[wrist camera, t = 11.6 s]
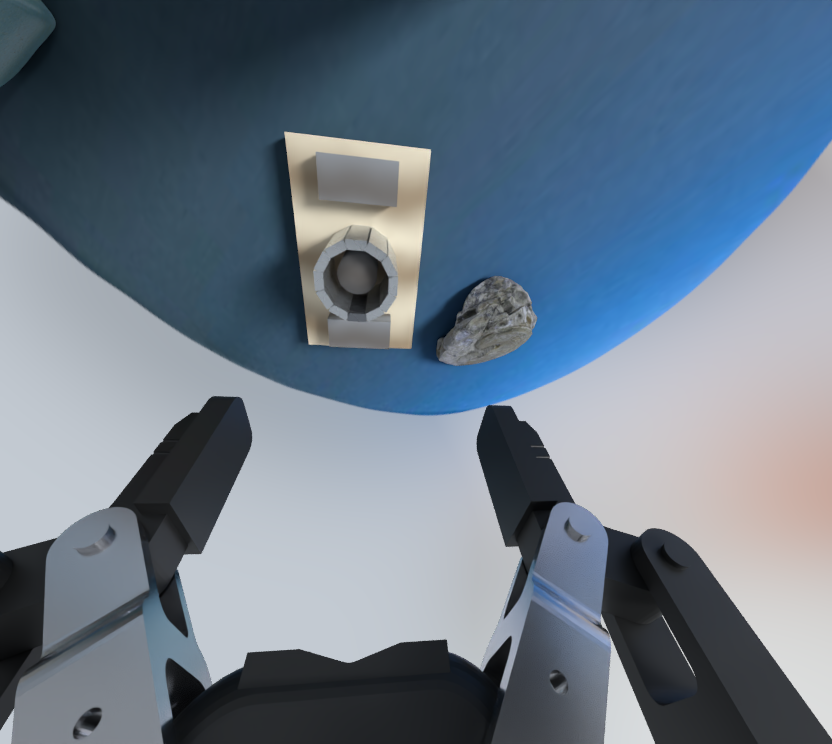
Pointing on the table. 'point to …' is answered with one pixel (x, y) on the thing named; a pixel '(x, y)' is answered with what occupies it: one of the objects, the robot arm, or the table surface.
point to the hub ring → (340, 298)
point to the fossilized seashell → (489, 324)
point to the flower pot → (21, 33)
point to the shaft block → (367, 206)
